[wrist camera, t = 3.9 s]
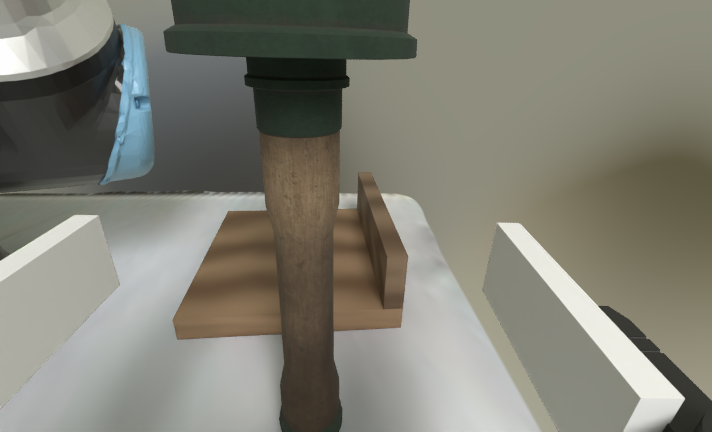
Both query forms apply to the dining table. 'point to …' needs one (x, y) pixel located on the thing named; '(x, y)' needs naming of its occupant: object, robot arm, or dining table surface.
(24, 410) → the dining table surface
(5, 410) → the dining table surface
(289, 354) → the stick grenade
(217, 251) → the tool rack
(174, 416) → the dining table surface
